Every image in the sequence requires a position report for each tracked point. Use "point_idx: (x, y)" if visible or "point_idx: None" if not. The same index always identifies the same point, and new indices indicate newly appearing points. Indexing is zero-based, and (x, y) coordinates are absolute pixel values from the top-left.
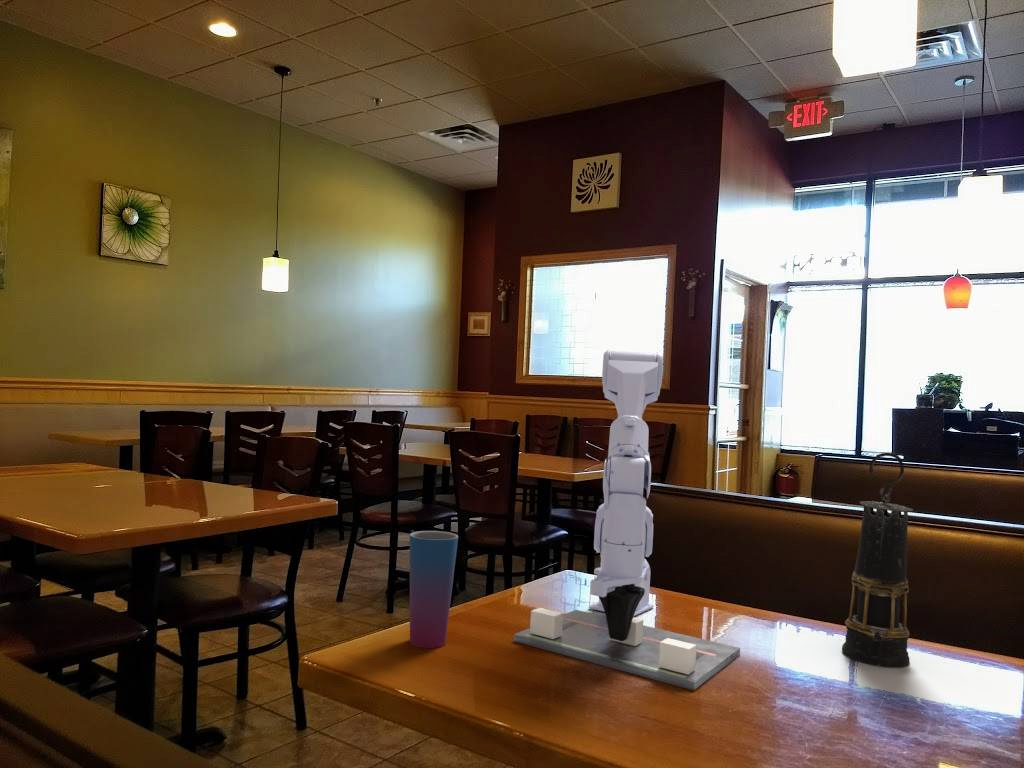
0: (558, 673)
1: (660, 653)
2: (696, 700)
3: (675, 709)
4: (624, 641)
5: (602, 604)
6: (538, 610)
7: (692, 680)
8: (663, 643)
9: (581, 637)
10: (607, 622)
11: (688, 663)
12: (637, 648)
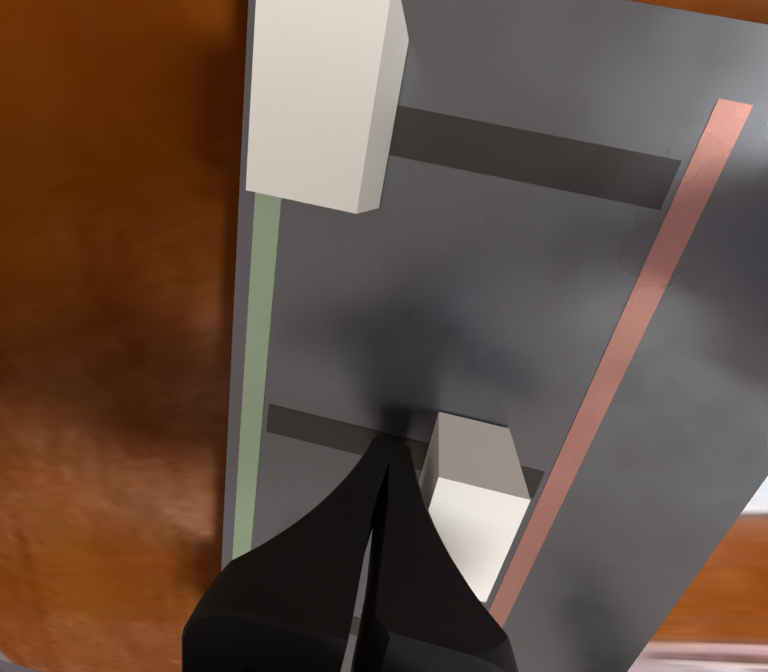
0: (82, 308)
1: None
2: (178, 617)
3: (102, 585)
4: (423, 471)
5: (291, 526)
6: (304, 5)
7: None
8: None
9: (412, 297)
10: (351, 471)
11: None
12: None
